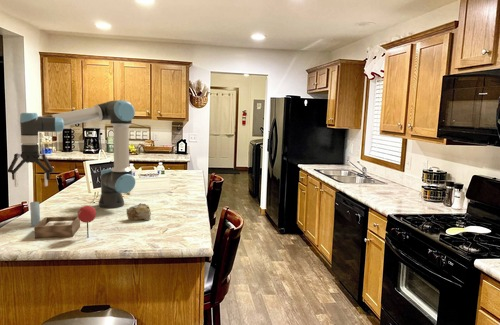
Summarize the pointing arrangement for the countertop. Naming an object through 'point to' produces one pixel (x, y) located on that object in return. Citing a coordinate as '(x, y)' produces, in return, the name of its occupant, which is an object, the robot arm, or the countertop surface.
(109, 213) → the countertop surface
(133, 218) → the rock
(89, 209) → the lollipop
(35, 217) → the peg
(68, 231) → the box
